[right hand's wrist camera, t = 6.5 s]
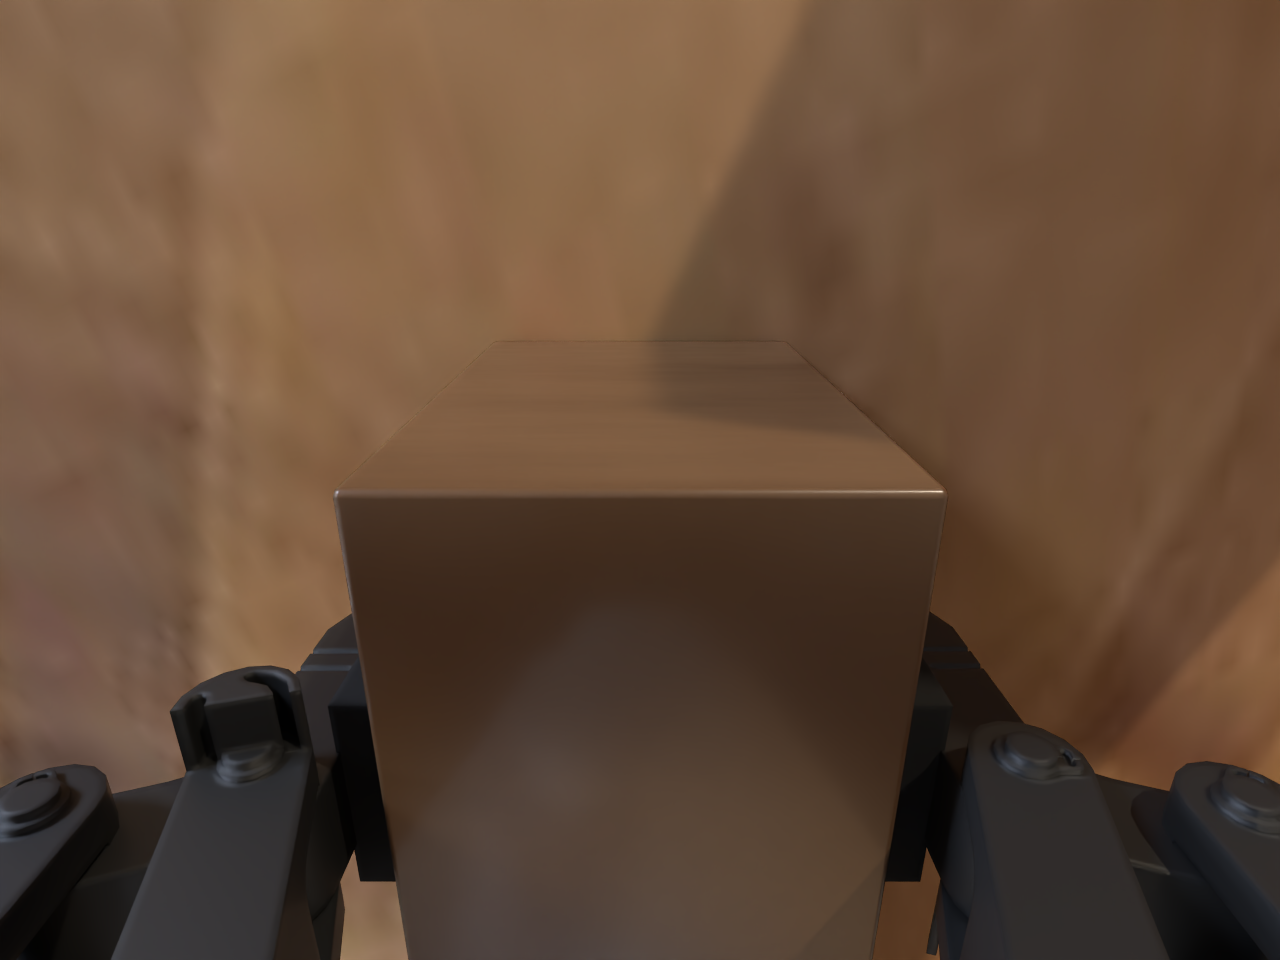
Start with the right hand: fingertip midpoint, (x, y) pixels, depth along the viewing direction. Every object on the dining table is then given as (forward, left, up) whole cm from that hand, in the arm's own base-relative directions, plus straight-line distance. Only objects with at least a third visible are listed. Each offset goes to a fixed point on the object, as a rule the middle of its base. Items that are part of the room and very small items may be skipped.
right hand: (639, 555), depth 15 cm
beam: (+11, -19, -1) cm, 22 cm away
